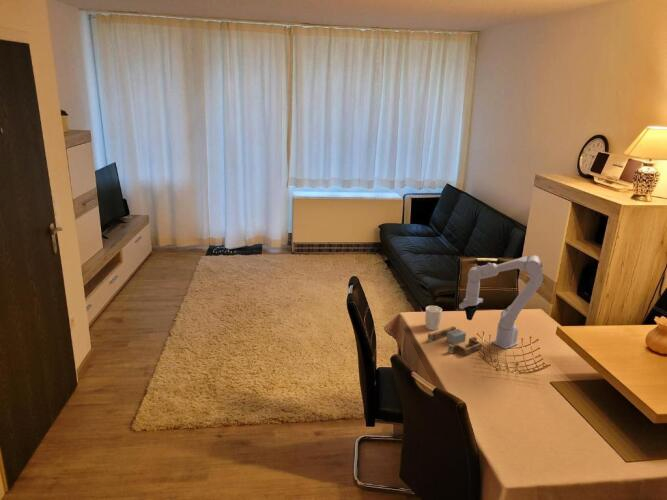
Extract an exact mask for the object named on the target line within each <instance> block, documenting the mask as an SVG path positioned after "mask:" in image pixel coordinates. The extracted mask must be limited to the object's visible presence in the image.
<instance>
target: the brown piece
mask: <svg viewBox="0 0 667 500" xmlns="http://www.w3.org/2000/svg"><path fill="white" fill-rule="evenodd" d="M456 329H457V327H456V326H451V327H448V328H445V329H442V330H439V331H436V332H433V333H430V332H429V333H427V342H429V343H433V342H434V341H437V340H440V339H443V338H445V337H446V338H447V332H449V331H453V330H456ZM468 345H469V346H466V347H464V346H462V345H460V344H452V343H450V344H448V347H447V352H448V353H449V354H451V355H452V354H454V353H458V354H460V355H463V356H464V357H466V356H469V355H472V354H475V353H476V351H477V352H479V351H481V350H482V348H483V343H481V342H480V341H478V338H477V337H476V336H472V337H470V338H469V339H468Z"/></svg>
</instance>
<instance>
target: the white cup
mask: <svg viewBox="0 0 667 500" xmlns="http://www.w3.org/2000/svg"><path fill="white" fill-rule="evenodd" d="M442 313H443V308H442V307H440V306H438V305H428V306H426V307H425V317H424V320H425V321H424V322H425V325H424V326H425V328H426V329H427V330H430V331H437V330H439V329H440V325H441V320H442Z"/></svg>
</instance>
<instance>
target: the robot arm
mask: <svg viewBox="0 0 667 500" xmlns="http://www.w3.org/2000/svg"><path fill="white" fill-rule="evenodd" d="M516 269H518V270H520V271H522V272H526V273H527V274H528V275H529V276H528V277H529V279H530V280H528V282H527V283H526V285H524V287H523V289H521V291H520V292H519V294H517V296H516V297H515V299H514V300H513V302H512V303H511V304H510V305H508V306H507V308H505V309H504V310H502V311H501V312H500V318H499V322H498V324H497V329H496V330H497V331H496V337H495V339H494V340H492V341H491V343H492V344H495V345H496V346H497V347H501V348H502V349H505V350H506V349H509V348H512V347H514V346H517V345H518V344H519V342H518V333H519V328H518V327H517V325H516V324H515V321H516V320H517V319H518V316H519V314H520V312H521V311H522V310H523V309H524V308H525V306H526V305H527V304H528V303H529V301H530V299H532V297H533V296H534V294H535V293H536V292H537V291H538V289H539V288H540V287H541V286H542V284H543V282H544V277H543V276H544V275H543V263H542V260H541V258H540V257H539V256H538V255H535V254H530V255H528V256H527V255H526V256H525V255H524V256H522V257H519V258H515V259H512V260H509V261H505V262H502V263H499V264H498V263H495V262H493V263H491V262H487V264H484V265H477V266H473V267H471V268H470V269H469V271H468V274H467V283H466V291H465V292H466V293H465V298H463V301H462V302H461V303H459V304H458V305H459V306H458V308H459V309H461V310H464V312H465V315H466V316H465V317H466V320H468V321H472V320H473V318H474V315H475V314H476V312H477V310H478V309H479V304H482V303H483V302H484V298H482V297H479V295H480V287H481V280H482V279H483V280H484V279H488V278H492V277H495V276H498V275H499V273H500V272H506V271H510V270H511V271H512V270H516Z"/></svg>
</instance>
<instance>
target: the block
mask: <svg viewBox="0 0 667 500" xmlns="http://www.w3.org/2000/svg"><path fill="white" fill-rule="evenodd" d="M466 335H467V334H466V331H463V330H461V329H460V328H456V330H453V331H449V332H447V336H446V342H448V343H450V344H451V345H453V344H458V345H460V344H461V343H464V342H465V341H466Z"/></svg>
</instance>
